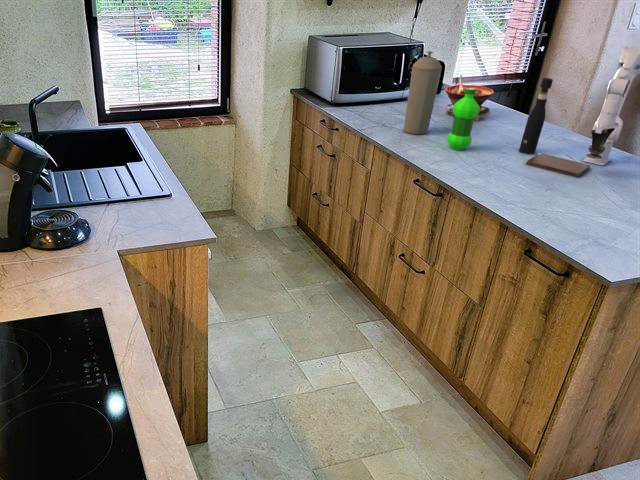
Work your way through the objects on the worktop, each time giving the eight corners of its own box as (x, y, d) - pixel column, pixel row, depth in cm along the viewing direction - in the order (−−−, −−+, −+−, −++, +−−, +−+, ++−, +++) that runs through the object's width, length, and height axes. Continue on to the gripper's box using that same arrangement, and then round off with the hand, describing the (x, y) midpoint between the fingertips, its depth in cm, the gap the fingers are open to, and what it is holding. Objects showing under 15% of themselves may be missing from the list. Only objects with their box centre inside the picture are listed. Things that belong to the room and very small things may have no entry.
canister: (399, 133, 272) (412, 52, 253) (403, 126, 282) (417, 47, 263) (427, 137, 268) (443, 55, 249) (431, 129, 278) (446, 50, 259)
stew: (436, 104, 315) (443, 73, 306) (483, 107, 312) (490, 75, 304) (444, 119, 292) (451, 86, 283) (495, 122, 289) (503, 88, 280)
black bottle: (535, 150, 255) (556, 78, 239) (534, 155, 250) (556, 81, 234) (519, 148, 257) (539, 76, 241) (518, 152, 252) (538, 79, 236)
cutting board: (539, 156, 249) (540, 152, 248) (589, 168, 238) (590, 165, 237) (526, 164, 241) (527, 160, 240) (577, 177, 229) (578, 173, 228)
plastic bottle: (473, 148, 256) (487, 88, 243) (462, 154, 250) (476, 93, 236) (452, 142, 262) (464, 84, 248) (441, 148, 255) (453, 88, 242)
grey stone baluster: (604, 159, 226) (615, 128, 220) (588, 158, 227) (599, 127, 221) (599, 154, 231) (610, 123, 225) (583, 153, 232) (594, 122, 226)
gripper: (615, 118, 213) (602, 154, 221) (627, 110, 222) (613, 145, 230) (594, 114, 217) (582, 150, 225) (606, 106, 226) (594, 141, 234)
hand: (597, 147), depth 227 cm, fingers closed on grey stone baluster, 6 cm apart
